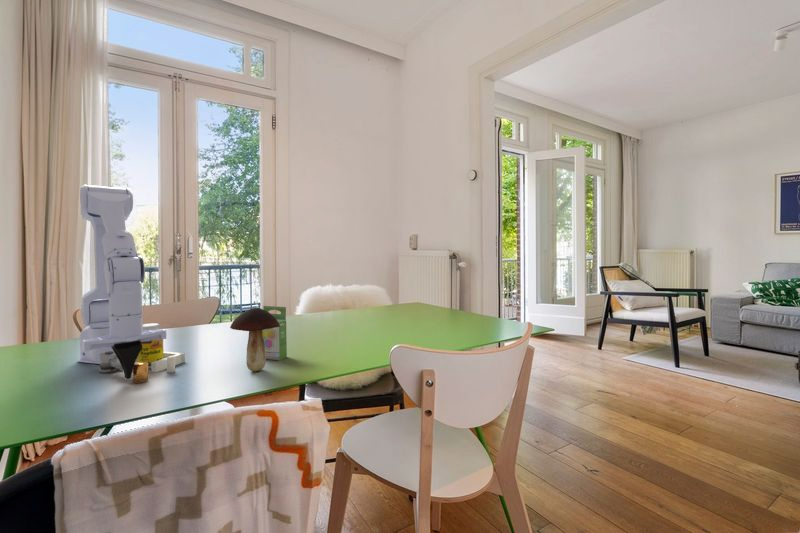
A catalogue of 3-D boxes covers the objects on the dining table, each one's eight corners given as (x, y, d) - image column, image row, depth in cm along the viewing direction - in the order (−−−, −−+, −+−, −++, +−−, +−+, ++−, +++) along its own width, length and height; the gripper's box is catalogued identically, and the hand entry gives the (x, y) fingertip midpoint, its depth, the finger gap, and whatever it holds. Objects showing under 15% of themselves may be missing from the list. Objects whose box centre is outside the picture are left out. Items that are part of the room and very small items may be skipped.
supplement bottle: (136, 371, 93) (135, 327, 92) (136, 365, 97) (135, 324, 97) (164, 367, 96) (163, 325, 95) (163, 361, 100) (162, 321, 100)
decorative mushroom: (268, 361, 101) (267, 303, 100) (288, 371, 93) (288, 308, 92) (223, 370, 94) (222, 307, 93) (241, 382, 85) (240, 313, 85)
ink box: (255, 358, 104) (254, 307, 103) (264, 354, 107) (263, 305, 107) (278, 360, 102) (278, 309, 101) (287, 356, 106) (286, 306, 105)
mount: (94, 372, 91) (94, 369, 91) (111, 367, 95) (111, 364, 95) (108, 374, 90) (108, 370, 90) (124, 369, 94) (124, 365, 94)
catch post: (165, 372, 92) (165, 357, 92) (171, 370, 93) (170, 355, 93) (171, 373, 92) (170, 358, 91) (176, 370, 93) (176, 356, 93)
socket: (120, 368, 95) (120, 359, 94) (151, 358, 103) (151, 350, 103) (155, 372, 92) (155, 363, 92) (184, 361, 100) (184, 353, 100)
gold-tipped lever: (97, 370, 92) (96, 352, 92) (114, 366, 95) (114, 349, 95) (135, 384, 83) (134, 364, 83) (153, 379, 86) (152, 360, 86)
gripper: (86, 321, 75) (89, 391, 76) (170, 312, 86) (172, 373, 86) (79, 316, 80) (81, 383, 80) (159, 308, 90) (161, 367, 91)
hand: (127, 377), depth 84 cm, fingers closed
